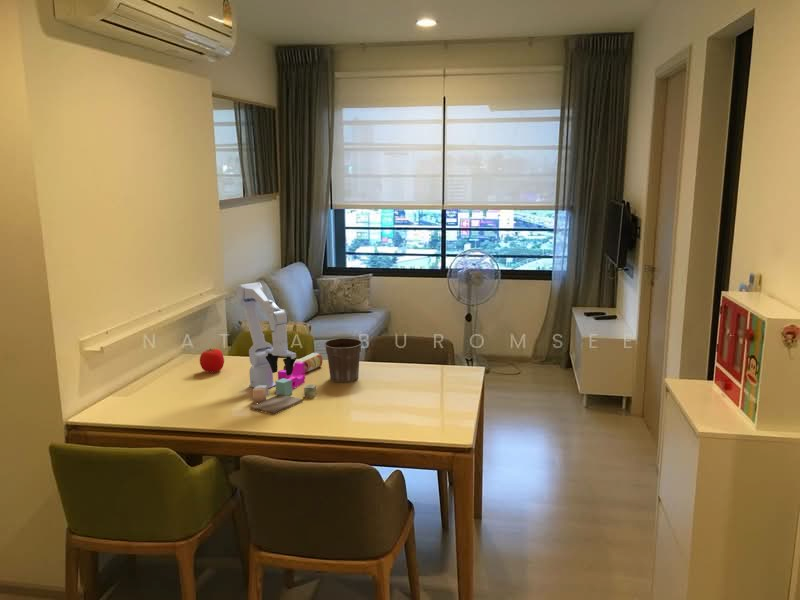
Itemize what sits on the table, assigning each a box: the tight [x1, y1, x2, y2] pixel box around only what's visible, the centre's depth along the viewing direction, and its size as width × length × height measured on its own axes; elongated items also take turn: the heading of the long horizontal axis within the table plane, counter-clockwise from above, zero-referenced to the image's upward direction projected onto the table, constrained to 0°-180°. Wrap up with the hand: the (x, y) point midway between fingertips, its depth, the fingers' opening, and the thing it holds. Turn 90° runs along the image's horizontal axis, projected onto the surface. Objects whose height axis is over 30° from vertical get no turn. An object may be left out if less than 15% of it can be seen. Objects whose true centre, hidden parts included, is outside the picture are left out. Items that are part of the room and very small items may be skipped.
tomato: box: [199, 348, 225, 373], centre depth 289 cm, size 10×11×11 cm
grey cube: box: [254, 385, 269, 397], centre depth 255 cm, size 4×4×4 cm
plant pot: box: [324, 337, 363, 383], centre depth 274 cm, size 16×16×16 cm
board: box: [250, 394, 304, 415], centre depth 244 cm, size 12×16×1 cm
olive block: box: [303, 384, 317, 398], centre depth 254 cm, size 4×4×4 cm
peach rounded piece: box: [252, 387, 267, 404], centre depth 249 cm, size 5×5×5 cm
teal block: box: [274, 378, 293, 396], centre depth 256 cm, size 4×4×6 cm
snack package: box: [282, 352, 323, 374], centre depth 286 cm, size 21×7×7 cm, turn 150°
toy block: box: [277, 362, 306, 390], centre depth 269 cm, size 15×6×8 cm, turn 158°
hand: (281, 373), depth 254 cm, fingers open, 7 cm apart
